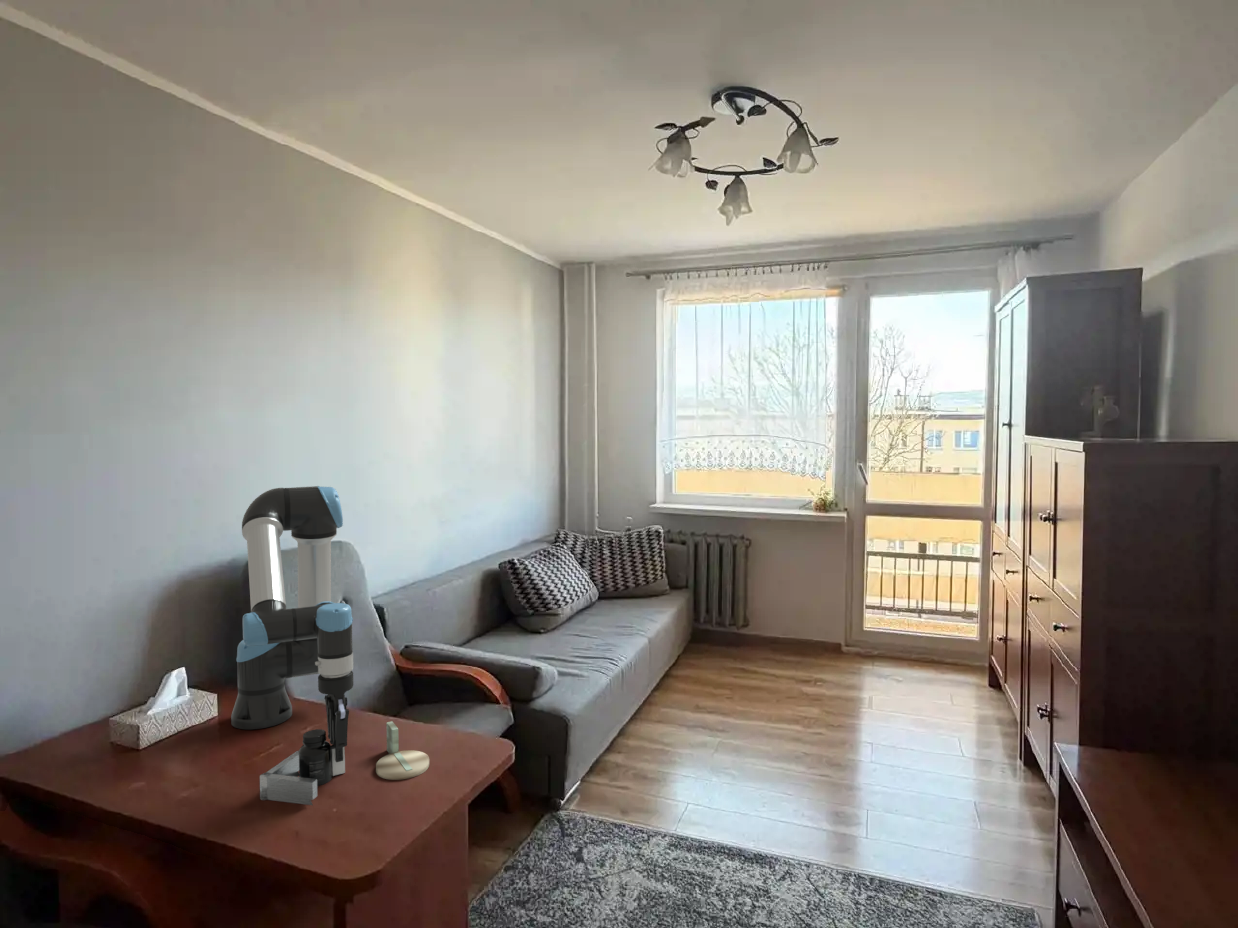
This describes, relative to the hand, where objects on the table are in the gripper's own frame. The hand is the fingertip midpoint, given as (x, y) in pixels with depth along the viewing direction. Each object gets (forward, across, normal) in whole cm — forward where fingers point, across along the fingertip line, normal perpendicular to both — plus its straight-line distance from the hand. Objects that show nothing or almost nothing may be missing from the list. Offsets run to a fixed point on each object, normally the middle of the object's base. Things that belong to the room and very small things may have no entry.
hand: (338, 772), depth 166 cm
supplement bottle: (+2, 0, -5) cm, 5 cm away
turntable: (0, +3, +13) cm, 14 cm away
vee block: (+1, 0, -11) cm, 11 cm away
